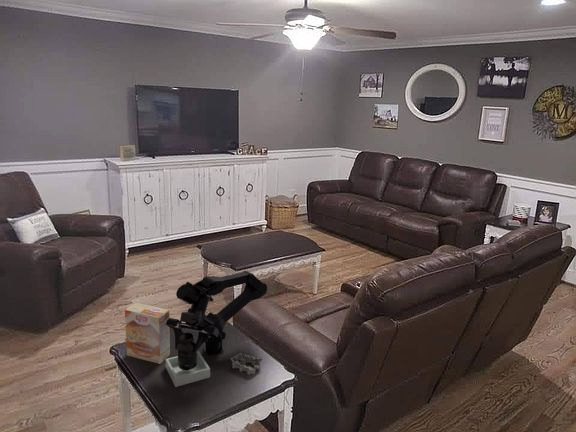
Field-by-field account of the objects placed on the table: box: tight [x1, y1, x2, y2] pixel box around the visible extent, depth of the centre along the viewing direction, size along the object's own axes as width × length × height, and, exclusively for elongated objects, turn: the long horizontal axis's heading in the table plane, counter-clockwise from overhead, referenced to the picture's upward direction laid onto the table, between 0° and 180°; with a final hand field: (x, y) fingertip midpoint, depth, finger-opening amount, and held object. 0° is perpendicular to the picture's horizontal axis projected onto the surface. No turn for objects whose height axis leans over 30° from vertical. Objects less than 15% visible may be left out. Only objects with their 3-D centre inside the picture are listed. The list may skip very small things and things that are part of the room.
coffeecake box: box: [124, 302, 171, 365], centre depth 165 cm, size 15×7×20 cm, turn 72°
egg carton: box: [230, 352, 263, 375], centre depth 163 cm, size 11×8×4 cm
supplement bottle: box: [176, 332, 198, 370], centre depth 156 cm, size 7×7×12 cm
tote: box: [165, 350, 211, 388], centre depth 158 cm, size 13×13×4 cm
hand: (185, 351), depth 154 cm, fingers closed on supplement bottle, 7 cm apart
